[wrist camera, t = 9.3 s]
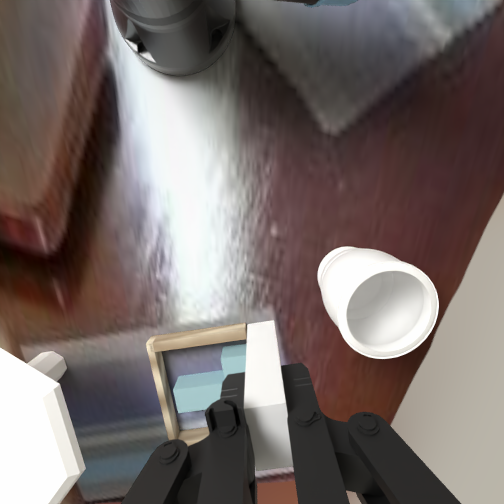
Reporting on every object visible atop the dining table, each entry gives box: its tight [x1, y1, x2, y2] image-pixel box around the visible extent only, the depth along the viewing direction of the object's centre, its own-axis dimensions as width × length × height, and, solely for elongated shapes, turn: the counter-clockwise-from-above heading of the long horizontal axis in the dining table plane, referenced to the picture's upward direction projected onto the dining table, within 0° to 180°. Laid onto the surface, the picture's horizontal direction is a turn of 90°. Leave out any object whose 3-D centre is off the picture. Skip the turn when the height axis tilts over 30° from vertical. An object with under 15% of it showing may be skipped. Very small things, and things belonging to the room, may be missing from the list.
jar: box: [318, 247, 439, 359], centre depth 38 cm, size 11×10×15 cm
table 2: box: [0, 348, 86, 504], centre depth 40 cm, size 28×28×17 cm
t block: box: [173, 344, 247, 413], centre depth 47 cm, size 12×12×4 cm
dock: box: [146, 323, 247, 446], centre depth 48 cm, size 19×15×2 cm
